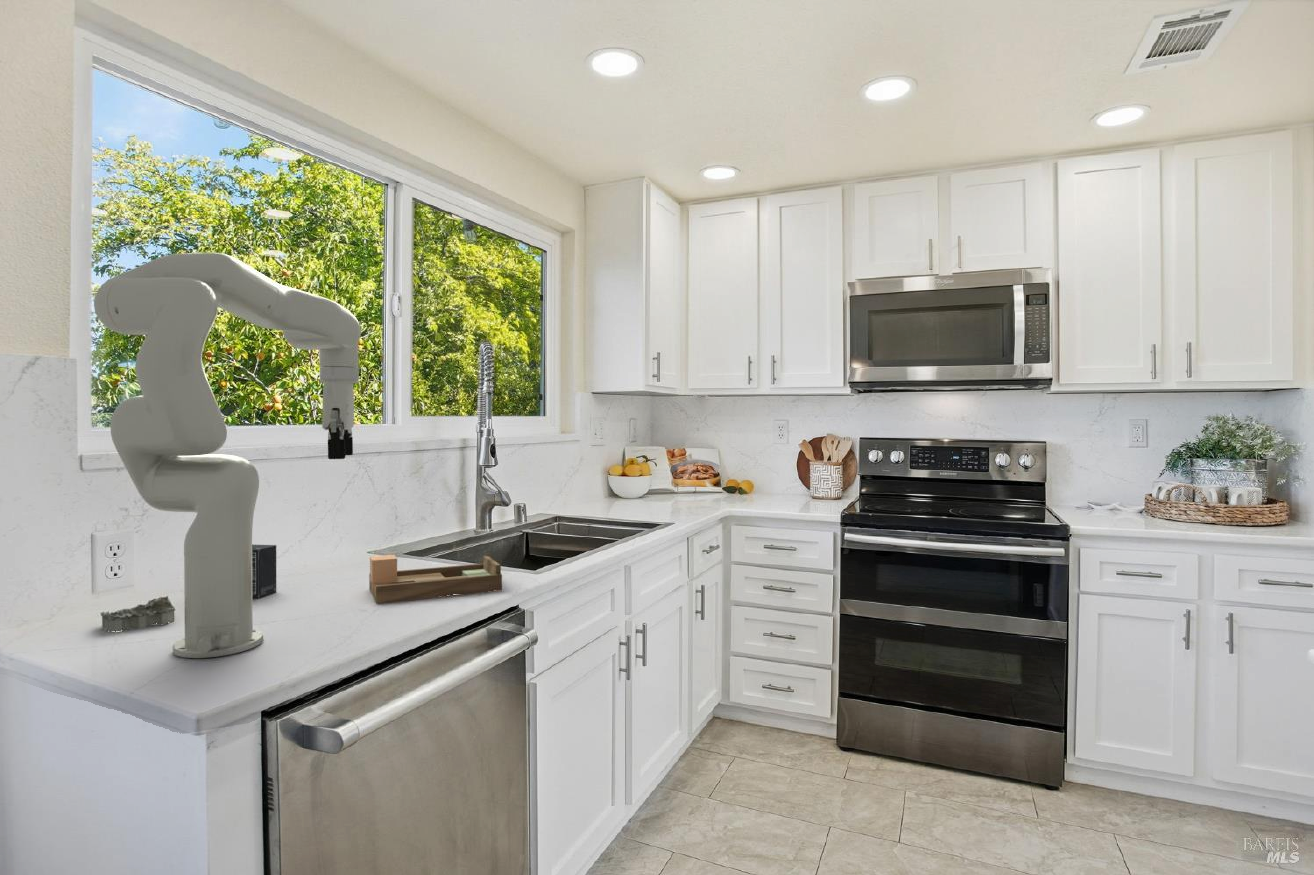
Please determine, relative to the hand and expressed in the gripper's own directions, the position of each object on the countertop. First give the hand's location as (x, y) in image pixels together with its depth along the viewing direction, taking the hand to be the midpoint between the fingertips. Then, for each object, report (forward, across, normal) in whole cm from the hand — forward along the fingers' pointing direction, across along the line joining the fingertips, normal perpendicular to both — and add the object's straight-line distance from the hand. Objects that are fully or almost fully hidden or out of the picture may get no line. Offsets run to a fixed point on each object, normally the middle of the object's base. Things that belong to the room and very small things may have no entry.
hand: (340, 457), depth 149 cm
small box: (+30, -5, -20) cm, 36 cm away
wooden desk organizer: (+30, 0, +19) cm, 35 cm away
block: (+27, -1, +8) cm, 28 cm away
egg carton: (+29, +15, -32) cm, 46 cm away
